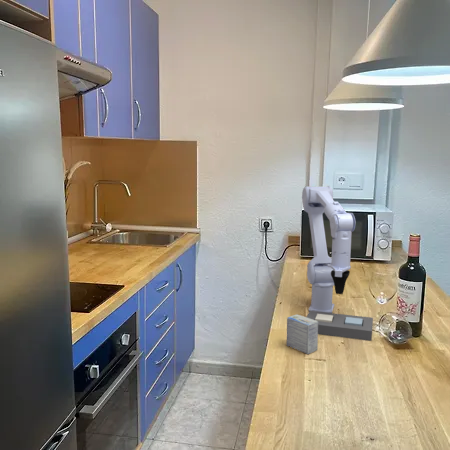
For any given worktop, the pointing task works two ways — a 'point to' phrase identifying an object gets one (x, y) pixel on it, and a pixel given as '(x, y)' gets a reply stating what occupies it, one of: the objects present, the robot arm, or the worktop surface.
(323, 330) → the grey flat rectangular block
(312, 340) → the medicine box
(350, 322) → the blue key
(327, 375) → the worktop surface
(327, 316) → the cream key
